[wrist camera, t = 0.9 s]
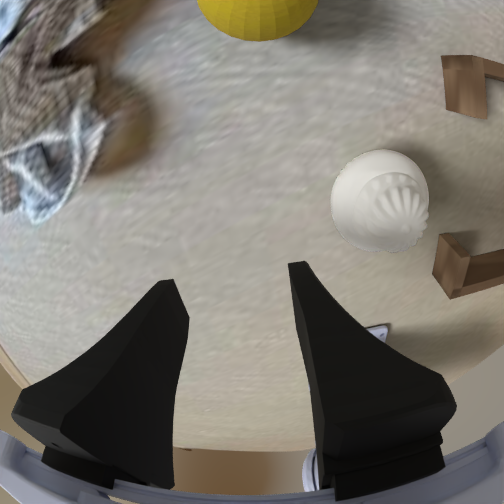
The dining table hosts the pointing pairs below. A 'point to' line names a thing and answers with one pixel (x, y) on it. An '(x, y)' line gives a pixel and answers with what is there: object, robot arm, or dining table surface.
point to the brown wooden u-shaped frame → (449, 250)
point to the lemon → (257, 17)
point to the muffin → (380, 202)
